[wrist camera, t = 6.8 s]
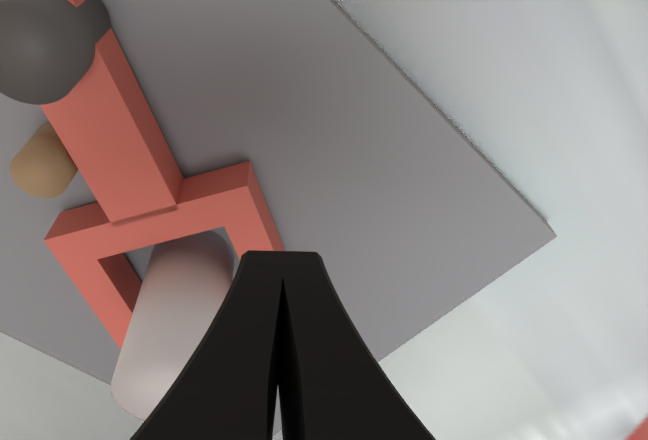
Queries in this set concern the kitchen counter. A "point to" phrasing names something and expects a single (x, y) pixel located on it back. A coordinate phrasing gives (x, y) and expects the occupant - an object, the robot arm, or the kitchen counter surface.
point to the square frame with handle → (116, 155)
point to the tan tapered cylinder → (43, 165)
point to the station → (270, 188)
